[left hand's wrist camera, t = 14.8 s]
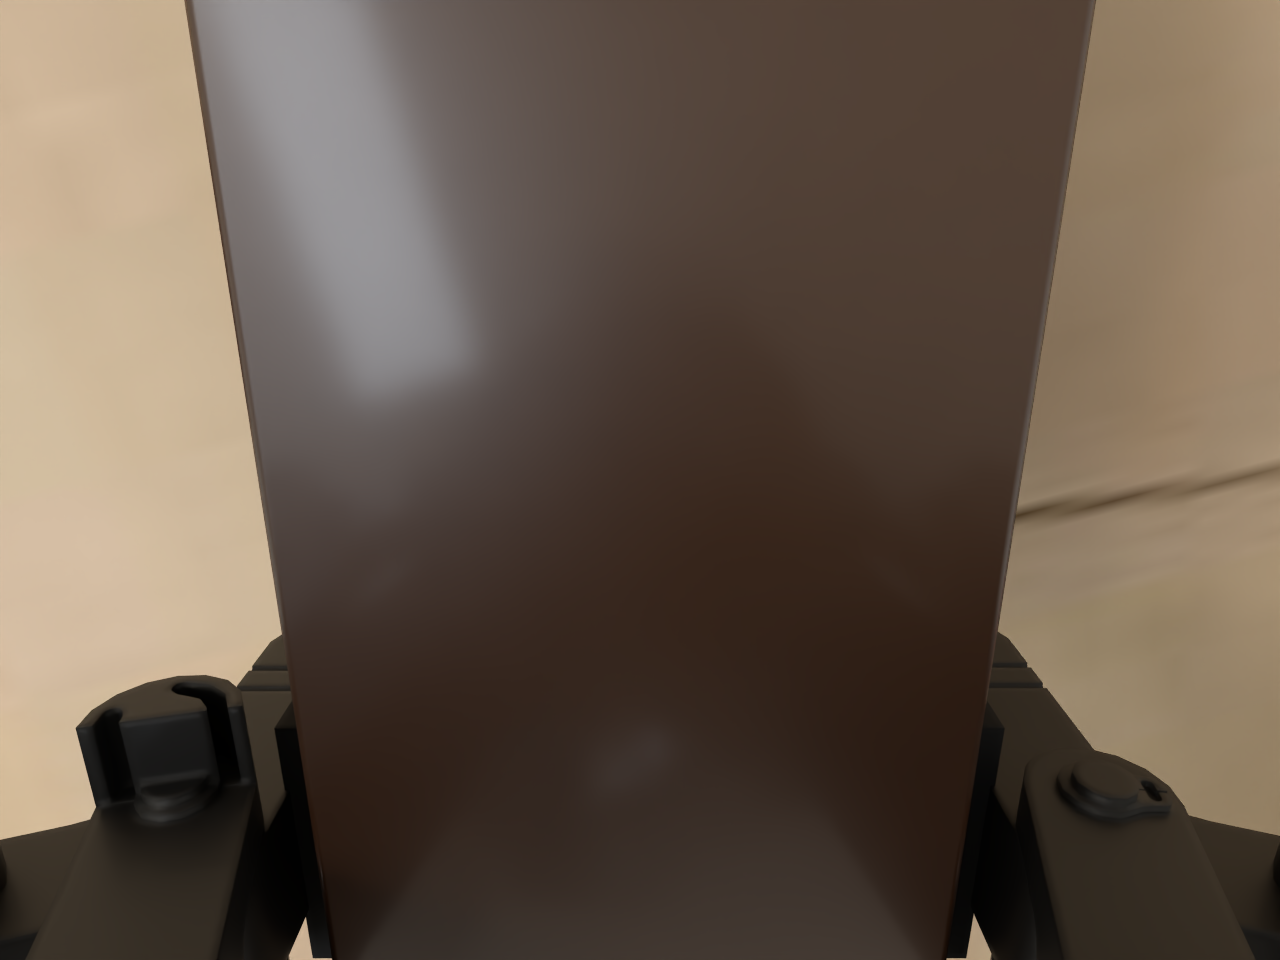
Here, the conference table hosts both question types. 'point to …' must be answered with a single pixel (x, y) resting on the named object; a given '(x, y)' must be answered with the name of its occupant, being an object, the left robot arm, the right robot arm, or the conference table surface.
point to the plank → (639, 448)
